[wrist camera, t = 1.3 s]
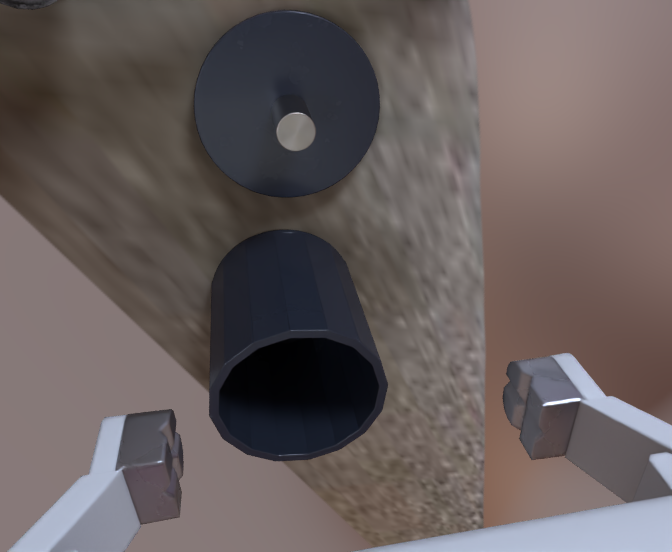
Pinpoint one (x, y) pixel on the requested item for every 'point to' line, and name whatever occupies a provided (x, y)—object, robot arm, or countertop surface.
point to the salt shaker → (27, 3)
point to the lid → (286, 103)
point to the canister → (290, 350)
